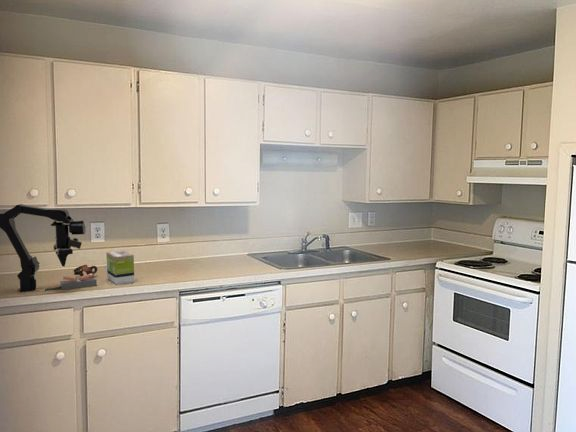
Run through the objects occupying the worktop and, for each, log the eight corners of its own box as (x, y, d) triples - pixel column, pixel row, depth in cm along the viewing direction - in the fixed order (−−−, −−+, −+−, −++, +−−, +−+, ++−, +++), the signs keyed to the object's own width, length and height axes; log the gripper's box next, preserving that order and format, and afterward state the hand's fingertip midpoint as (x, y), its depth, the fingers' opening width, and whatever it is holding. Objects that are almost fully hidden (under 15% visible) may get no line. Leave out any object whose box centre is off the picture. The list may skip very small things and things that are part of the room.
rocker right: (81, 280, 234) (80, 278, 234) (80, 278, 237) (79, 276, 237) (93, 276, 238) (93, 274, 237) (92, 275, 240) (91, 273, 240)
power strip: (45, 291, 225) (45, 285, 224) (44, 289, 230) (44, 282, 229) (96, 285, 237) (96, 279, 237) (94, 283, 242) (94, 277, 242)
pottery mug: (80, 282, 247) (73, 268, 247) (76, 286, 254) (70, 273, 255) (102, 273, 254) (95, 259, 255) (98, 277, 262) (91, 264, 262)
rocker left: (63, 279, 230) (63, 277, 230) (62, 278, 232) (62, 276, 232) (76, 280, 233) (76, 278, 233) (75, 279, 236) (75, 277, 236)
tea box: (106, 279, 251) (105, 252, 250) (125, 276, 258) (124, 250, 256) (115, 284, 240) (114, 256, 238) (135, 282, 246) (134, 254, 244)
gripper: (83, 236, 226) (84, 267, 227) (76, 231, 241) (77, 261, 243) (58, 237, 220) (59, 270, 221) (52, 232, 235) (53, 263, 237)
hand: (63, 266), depth 231 cm, fingers closed
